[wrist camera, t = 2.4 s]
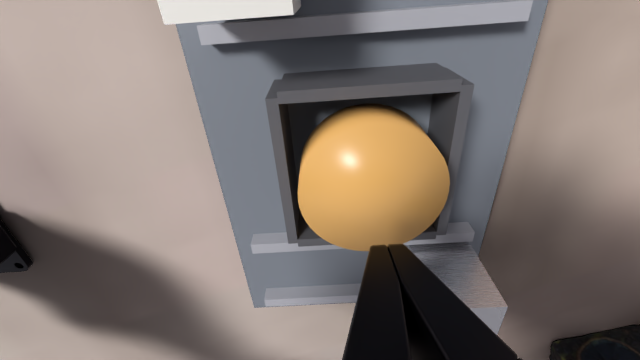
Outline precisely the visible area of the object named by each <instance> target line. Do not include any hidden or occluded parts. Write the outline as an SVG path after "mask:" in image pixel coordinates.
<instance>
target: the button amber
mask: <svg viewBox="0 0 640 360" xmlns="http://www.w3.org/2000/svg"><path fill="white" fill-rule="evenodd" d="M449 187H450V177H449V171H448V167H447V164H446V162H445V159H444V157H443V156H442V154H441V153H440V151H439V150H438V148H437V147H436V146H435V145H434V143H433V142H432V141H431V139H430V138H429V137H428V135H427V134H426V133H425V131H424V130H423V129H422V127H421V126H420V125H419V124H418V123H417V122H416V120H414V119H413V118H412V117H411V116H410V115H408V114H407V113H405V112H403V111H402V110H399V109H397V108H395V107H392V106H388V105H384V104H376V103H365V104H358V105H353V106H349V107H346V108H344V109H341V110H339V111H337V112H335V113H333V114H331V115H330V116H328V117H327V118H326V119H324V120H323V121H322V122H321V123H320V124H319V125H318V126H316V128H315V129H314V130H313V131H312V133H311V134H310V136H309V137H308V139H307V141H306V143H305V145H304V148H303V151H302V155H301V162H300V173H299V183H298V203H299V208H300V211H301V213H302V216H303V218H304V219H305V221H306V223H307V224H308V225H309V227H310V228H311V229H312V230H313V231H314V232H315V233H316V234H317V235H318V236H320V237H321V238H322V239H324V240H326V241H327V242H329V243H331V244H334V245H336V246H338V247H342V248H345V249H350V250H355V251H369V249H370V246H372V245H383V244H384V245H386V246H387V245H389V244H404V243H406V242H408V241H410V240H412V239H414V238H415V237H417V236H418V235H420V234H421V233H422V232H424V231H425V230H426V229H427V228H428V227H429V226H430V225H431V224H432V223H433V222H434V221H435V220H436V218H437V217H438V216H439V215H440V213H441V211H442V209H443V208H444V205H445V203H446V201H447V197H448V193H449Z"/></svg>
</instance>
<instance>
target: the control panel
mask: <svg viewBox="0 0 640 360" xmlns="http://www.w3.org/2000/svg"><path fill="white" fill-rule="evenodd" d="M547 3H548V0H301V7H300V9H299V10H298V11H297V12H296V13H295V14H294V15H285V16H272V17H259V18H246V19H233V20H220V21H207V22H194V23H181V24H176V27H177V31H178V34H179V38H180V41H181V45H182V49H183V52H184V56H185V59H186V63H187V67H188V70H189V74H190V77H191V81H192V85H193V88H194V92H195V95H196V99H197V103H198V106H199V110H200V113H201V117H202V121H203V124H204V128H205V131H206V135H207V139H208V142H209V146H210V149H211V153H212V157H213V160H214V164H215V168H216V171H217V175H218V178H219V182H220V186H221V189H222V193H223V196H224V200H225V204H226V207H227V211H228V214H229V218H230V222H231V225H232V229H233V232H234V236H235V240H236V243H237V247H238V250H239V254H240V258H241V261H242V265H243V268H244V272H245V276H246V279H247V283H248V286H249V290H250V294H251V297H252V301H253V304H254V308H258V307H278V306H298V305H317V304H337V303H356V301H357V297H358V293H359V289H360V285H361V281H362V277H363V273H364V269H365V265H366V261H367V257H368V253H369V251H355V250H350V249H345V248H342V247H338V246H336V245H334V244H331V243H329V242H327V241H326V240H324V239H322V238H321V237H320V236H318V235H317V234H316V233H315V232H314V231H313V230H312V229H311V228H310V227H309V225H308V224H307V223H306V221H305V219H304V218H303V216H302V213H301V211H300V208H299V203H298V183H299V173H300V162H301V155H302V151H303V148H304V145H305V143H306V141H307V139H308V137H309V136H310V134H311V133H312V131H313V130H314V129H315V128H316V126H318V125H319V124H320V123H321V122H322V121H323V120H324V119H326V118H327V117H328V116H330V115H331V114H333V113H335V112H337V111H339V110H341V109H344V108H346V107H349V106H353V105H358V104H365V103H376V104H384V105H388V106H392V107H395V108H397V109H399V110H402V111H403V112H405V113H407V114H408V115H410V116H411V117H412V118H413V119H414V120H416V122H417V123H418V124H419V125H420V126H421V127H422V129H423V130H424V131H425V133H426V134H427V135H428V137H429V138H430V139H431V141H432V142H433V143H434V145H435V146H436V147H437V148H438V150H439V151H440V153H441V154H442V156H443V157H444V159H445V162H446V164H447V167H448V171H449V177H450V187H449V193H448V197H447V201H446V203H445V205H444V208H443V209H442V211H441V213H440V215H439V216H438V217H437V218H436V220H435V221H434V222H433V223H432V224H431V225H430V226H429V227H428V228H427V229H426V230H425V231H424V232H422V233H421V234H420V235H418V236H417V237H415V238H414V239H412V240H410V241H408V242H406V243H404V245H405V246H406V247H407V248H408V245H419V244H437V243H455V242H469V243H470V244H471V246H472V248H473V249H474V251H475V253H476V254H477V256H479V252H480V248H481V245H482V241H483V237H484V234H485V230H486V226H487V223H488V219H489V215H490V212H491V208H492V204H493V201H494V197H495V193H496V190H497V186H498V182H499V179H500V175H501V171H502V168H503V164H504V160H505V157H506V153H507V149H508V146H509V142H510V138H511V135H512V131H513V127H514V124H515V120H516V116H517V113H518V109H519V105H520V102H521V98H522V94H523V91H524V87H525V83H526V80H527V76H528V72H529V69H530V65H531V62H532V58H533V54H534V51H535V47H536V43H537V40H538V36H539V32H540V29H541V25H542V21H543V18H544V14H545V10H546V7H547Z"/></svg>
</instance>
